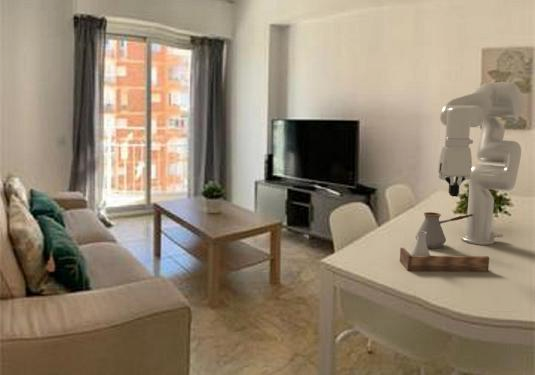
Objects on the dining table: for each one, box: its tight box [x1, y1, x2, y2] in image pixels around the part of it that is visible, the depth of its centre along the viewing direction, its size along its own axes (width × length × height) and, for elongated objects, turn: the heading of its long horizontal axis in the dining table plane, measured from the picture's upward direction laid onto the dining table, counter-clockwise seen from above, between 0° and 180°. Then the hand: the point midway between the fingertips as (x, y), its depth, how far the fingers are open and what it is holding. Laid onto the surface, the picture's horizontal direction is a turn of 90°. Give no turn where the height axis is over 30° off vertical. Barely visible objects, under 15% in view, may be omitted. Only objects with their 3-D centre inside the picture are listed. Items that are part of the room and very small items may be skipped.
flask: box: [409, 230, 431, 256], centre depth 162 cm, size 7×7×10 cm
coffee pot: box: [415, 211, 475, 249], centre depth 183 cm, size 21×12×15 cm, turn 54°
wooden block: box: [399, 247, 490, 273], centre depth 163 cm, size 27×10×5 cm, turn 90°
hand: (453, 195), depth 164 cm, fingers closed
